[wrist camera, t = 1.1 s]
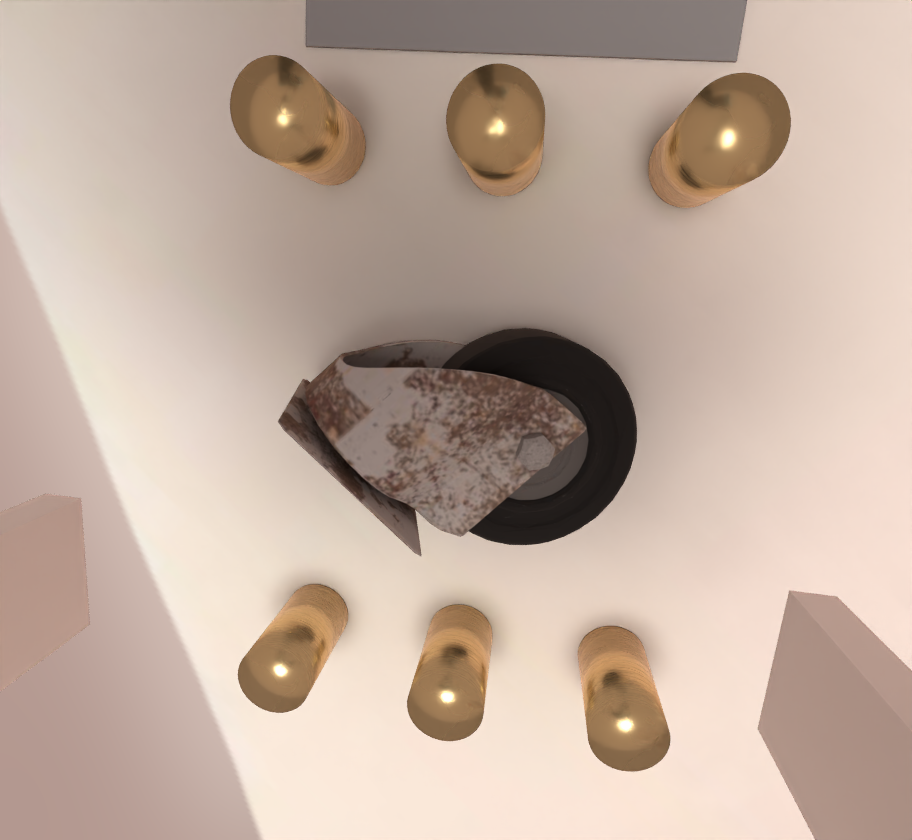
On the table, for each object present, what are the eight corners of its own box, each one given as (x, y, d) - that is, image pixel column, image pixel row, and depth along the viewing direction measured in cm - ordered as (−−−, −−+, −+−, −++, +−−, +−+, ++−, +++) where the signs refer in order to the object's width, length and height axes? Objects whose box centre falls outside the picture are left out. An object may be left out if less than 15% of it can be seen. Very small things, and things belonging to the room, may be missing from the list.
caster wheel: (629, 417, 27) (467, 555, 28) (472, 222, 23) (293, 386, 24) (708, 470, 20) (494, 647, 21) (507, 211, 17) (263, 435, 18)
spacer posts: (293, 102, 23) (229, 53, 18) (739, 123, 21) (800, 74, 16) (288, 635, 28) (238, 706, 24) (639, 688, 27) (663, 777, 22)
